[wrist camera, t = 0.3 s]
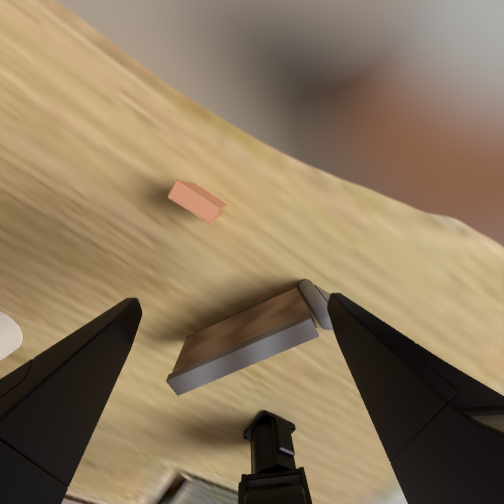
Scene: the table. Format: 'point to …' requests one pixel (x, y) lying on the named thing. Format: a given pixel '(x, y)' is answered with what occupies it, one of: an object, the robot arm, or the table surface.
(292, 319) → the gate
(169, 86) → the table surface
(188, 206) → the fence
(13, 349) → the cylindrical container
